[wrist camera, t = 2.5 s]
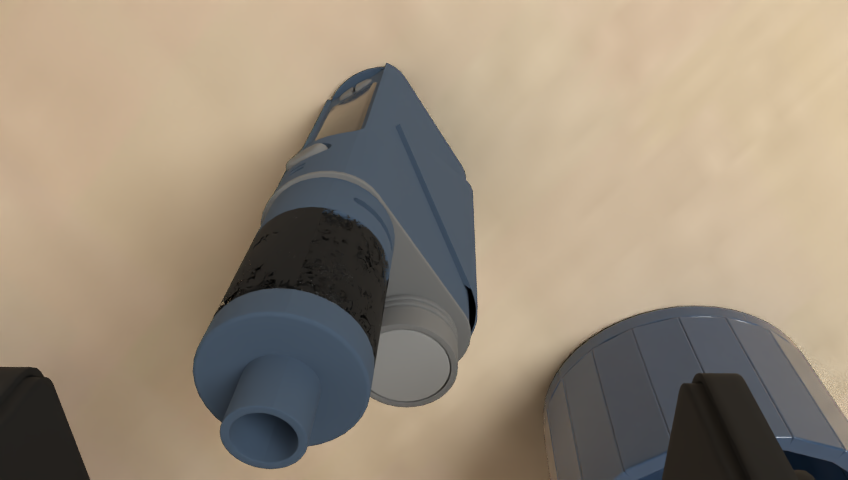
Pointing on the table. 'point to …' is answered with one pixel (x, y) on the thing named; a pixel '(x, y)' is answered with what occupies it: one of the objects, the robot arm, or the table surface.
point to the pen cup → (659, 387)
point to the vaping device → (346, 281)
